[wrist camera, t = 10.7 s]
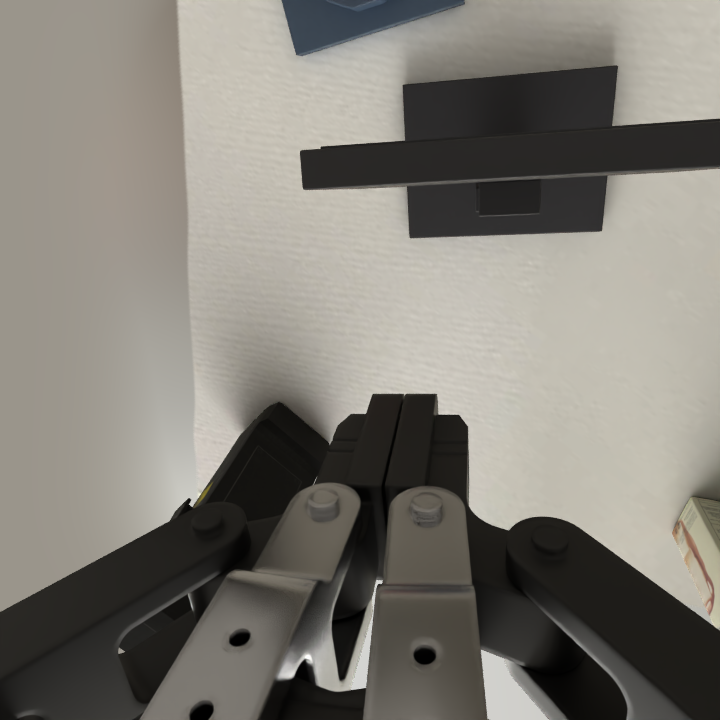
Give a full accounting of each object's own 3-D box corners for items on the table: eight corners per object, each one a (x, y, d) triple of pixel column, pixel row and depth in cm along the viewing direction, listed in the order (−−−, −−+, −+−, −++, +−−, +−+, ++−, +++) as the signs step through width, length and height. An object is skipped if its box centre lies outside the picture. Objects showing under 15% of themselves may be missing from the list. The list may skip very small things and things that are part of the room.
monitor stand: (598, 227, 40) (624, 259, 33) (411, 234, 42) (397, 265, 35) (614, 65, 36) (646, 62, 29) (404, 84, 38) (387, 85, 31)
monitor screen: (663, 208, 31) (780, 221, 19) (367, 220, 34) (306, 239, 22) (669, 141, 30) (796, 112, 18) (364, 161, 33) (299, 147, 21)
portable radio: (230, 429, 53) (52, 675, 31) (267, 390, 51) (103, 628, 29) (294, 481, 55) (167, 754, 33) (334, 446, 52) (225, 716, 30)
